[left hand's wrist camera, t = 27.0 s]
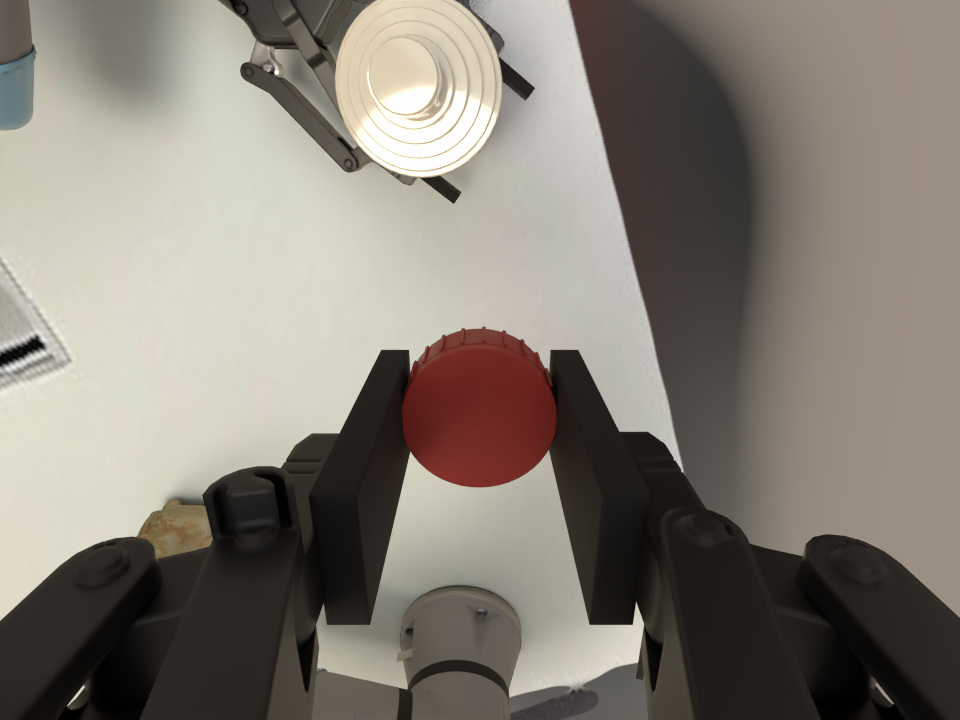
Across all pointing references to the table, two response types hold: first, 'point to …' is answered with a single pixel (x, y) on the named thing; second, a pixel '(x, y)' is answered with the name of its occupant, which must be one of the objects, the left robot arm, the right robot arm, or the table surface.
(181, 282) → the table surface
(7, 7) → the right robot arm
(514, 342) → the cap
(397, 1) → the bottle
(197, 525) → the sculpture
